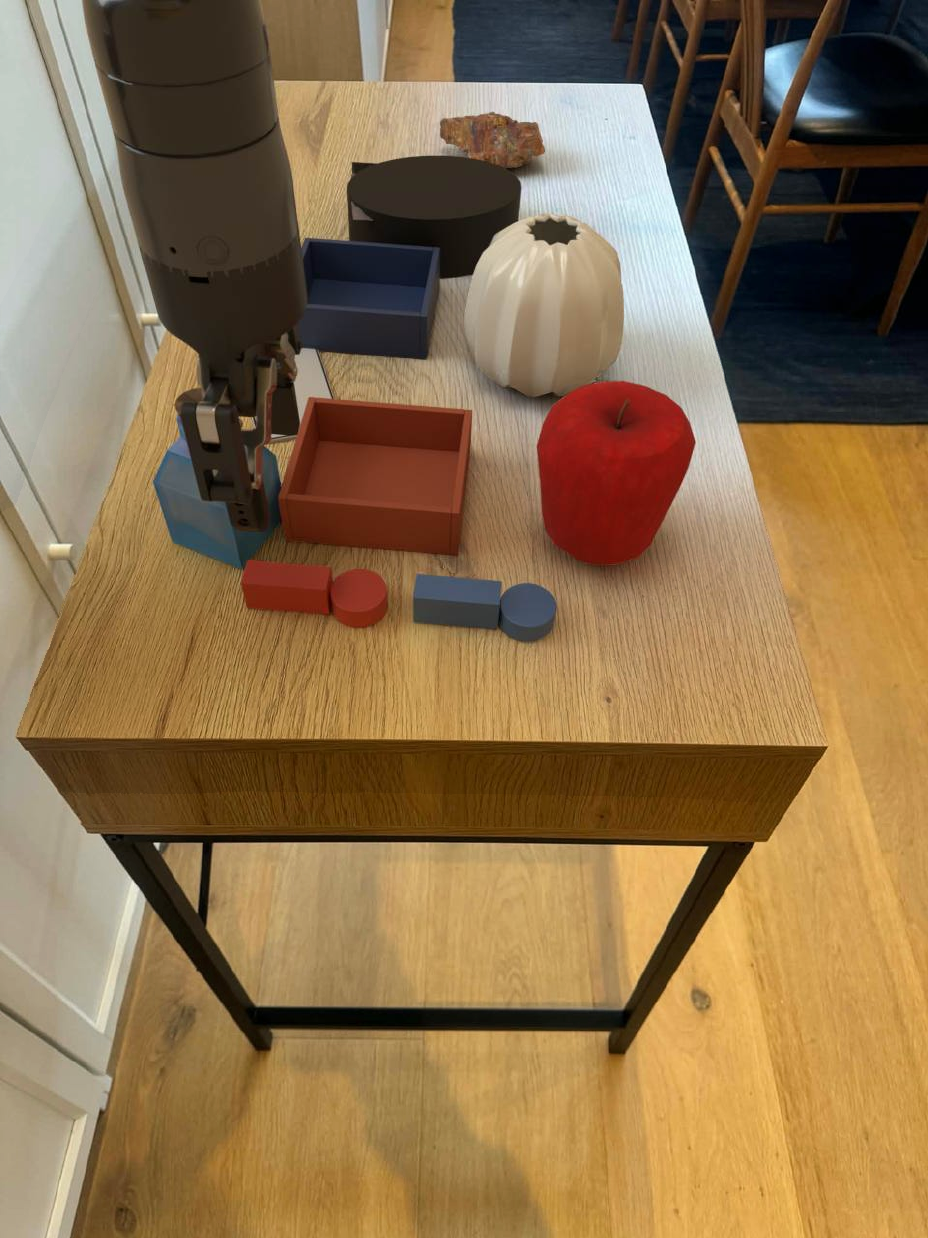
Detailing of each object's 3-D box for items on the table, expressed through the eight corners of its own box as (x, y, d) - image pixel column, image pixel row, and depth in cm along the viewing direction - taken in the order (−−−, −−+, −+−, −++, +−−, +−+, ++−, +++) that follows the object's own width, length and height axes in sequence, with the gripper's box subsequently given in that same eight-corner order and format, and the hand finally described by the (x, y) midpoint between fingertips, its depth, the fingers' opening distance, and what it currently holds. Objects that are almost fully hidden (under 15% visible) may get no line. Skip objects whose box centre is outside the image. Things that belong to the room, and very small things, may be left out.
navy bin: (285, 348, 83) (279, 305, 79) (309, 279, 90) (304, 237, 86) (426, 359, 82) (426, 316, 79) (439, 289, 90) (440, 247, 86)
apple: (652, 493, 72) (691, 350, 62) (673, 590, 66) (720, 450, 55) (522, 492, 72) (539, 348, 61) (531, 590, 66) (551, 448, 55)
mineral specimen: (446, 168, 102) (443, 101, 99) (440, 176, 109) (438, 113, 107) (549, 165, 103) (549, 98, 100) (537, 173, 110) (537, 111, 108)
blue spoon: (411, 632, 63) (411, 607, 61) (418, 589, 65) (417, 563, 63) (553, 644, 62) (557, 620, 60) (554, 601, 65) (558, 575, 63)
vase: (457, 327, 86) (461, 188, 75) (599, 323, 87) (623, 186, 76) (471, 420, 77) (477, 278, 67) (628, 414, 78) (659, 274, 68)
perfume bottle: (286, 516, 69) (264, 389, 60) (241, 569, 66) (210, 444, 56) (219, 491, 71) (187, 363, 61) (172, 542, 67) (130, 415, 58)
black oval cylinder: (522, 286, 92) (534, 215, 87) (347, 279, 90) (347, 205, 84) (504, 219, 101) (513, 150, 96) (345, 211, 99) (345, 140, 93)
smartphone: (311, 328, 84) (344, 427, 76) (312, 335, 85) (345, 433, 76) (233, 340, 83) (257, 442, 74) (234, 346, 83) (258, 448, 75)
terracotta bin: (285, 541, 68) (277, 498, 64) (314, 439, 75) (308, 396, 71) (458, 555, 67) (459, 513, 64) (470, 452, 75) (472, 409, 71)
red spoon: (243, 618, 63) (236, 592, 61) (256, 575, 66) (250, 549, 63) (383, 630, 63) (382, 605, 61) (391, 587, 65) (389, 561, 63)
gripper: (181, 147, 46) (236, 399, 59) (86, 301, 38) (174, 558, 50) (323, 157, 46) (348, 408, 59) (261, 314, 37) (306, 569, 50)
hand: (268, 477), depth 55 cm, fingers open, 8 cm apart
